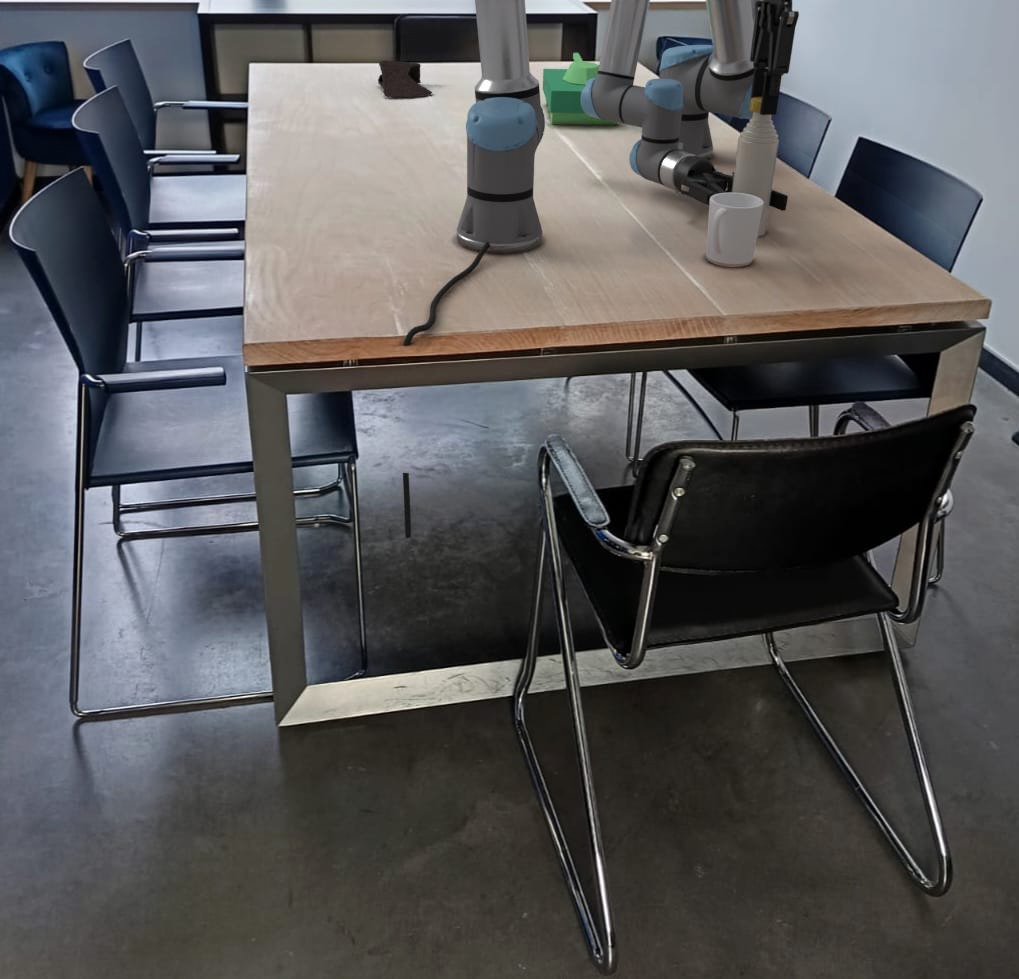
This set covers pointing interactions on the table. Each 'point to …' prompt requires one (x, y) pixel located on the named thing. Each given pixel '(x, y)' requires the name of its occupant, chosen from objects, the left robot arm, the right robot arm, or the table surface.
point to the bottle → (757, 162)
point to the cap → (755, 104)
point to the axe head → (401, 79)
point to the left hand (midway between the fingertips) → (762, 110)
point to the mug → (733, 228)
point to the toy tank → (570, 93)
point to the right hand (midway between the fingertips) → (768, 206)
